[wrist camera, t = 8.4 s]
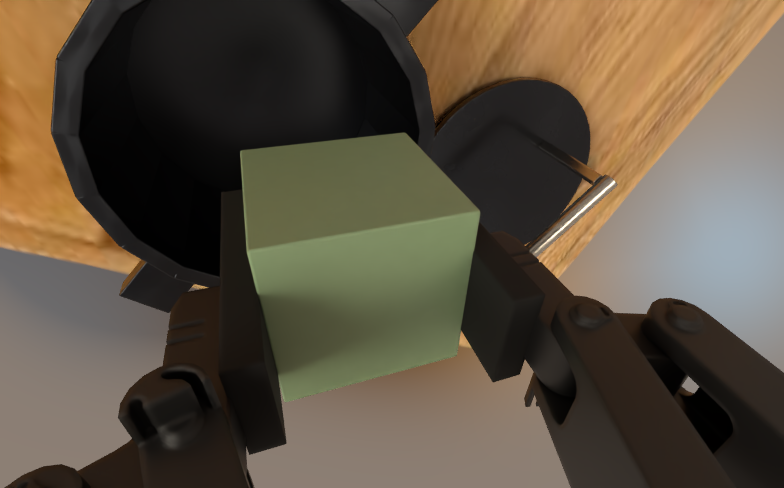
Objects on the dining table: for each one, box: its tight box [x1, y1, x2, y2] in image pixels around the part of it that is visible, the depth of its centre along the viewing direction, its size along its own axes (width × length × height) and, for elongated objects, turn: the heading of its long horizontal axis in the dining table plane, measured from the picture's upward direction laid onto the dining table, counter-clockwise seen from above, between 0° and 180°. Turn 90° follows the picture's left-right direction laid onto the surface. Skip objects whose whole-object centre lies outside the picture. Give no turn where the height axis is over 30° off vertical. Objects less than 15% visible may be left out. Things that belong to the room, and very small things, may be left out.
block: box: [240, 133, 480, 402], centre depth 12 cm, size 5×5×5 cm
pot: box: [51, 0, 438, 313], centre depth 21 cm, size 15×20×10 cm
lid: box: [431, 78, 617, 257], centre depth 30 cm, size 16×16×8 cm
